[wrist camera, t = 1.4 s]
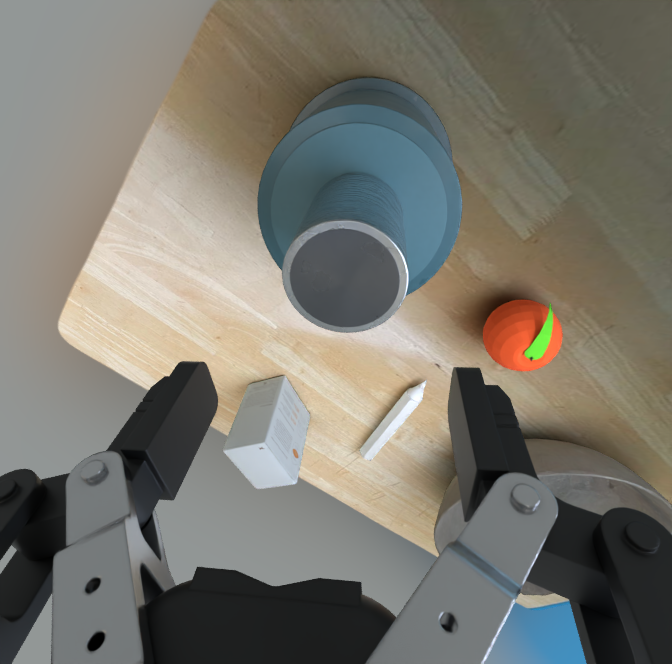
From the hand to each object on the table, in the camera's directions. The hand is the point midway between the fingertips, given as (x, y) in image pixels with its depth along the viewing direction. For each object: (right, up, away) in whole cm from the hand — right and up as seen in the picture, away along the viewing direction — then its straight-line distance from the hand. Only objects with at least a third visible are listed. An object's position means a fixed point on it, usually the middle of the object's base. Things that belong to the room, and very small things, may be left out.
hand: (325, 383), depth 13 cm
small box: (-7, -7, +39) cm, 40 cm away
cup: (+2, +9, +12) cm, 15 cm away
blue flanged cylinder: (+3, +15, +21) cm, 26 cm away
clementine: (+19, +4, +27) cm, 33 cm away
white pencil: (+8, -9, +38) cm, 40 cm away
